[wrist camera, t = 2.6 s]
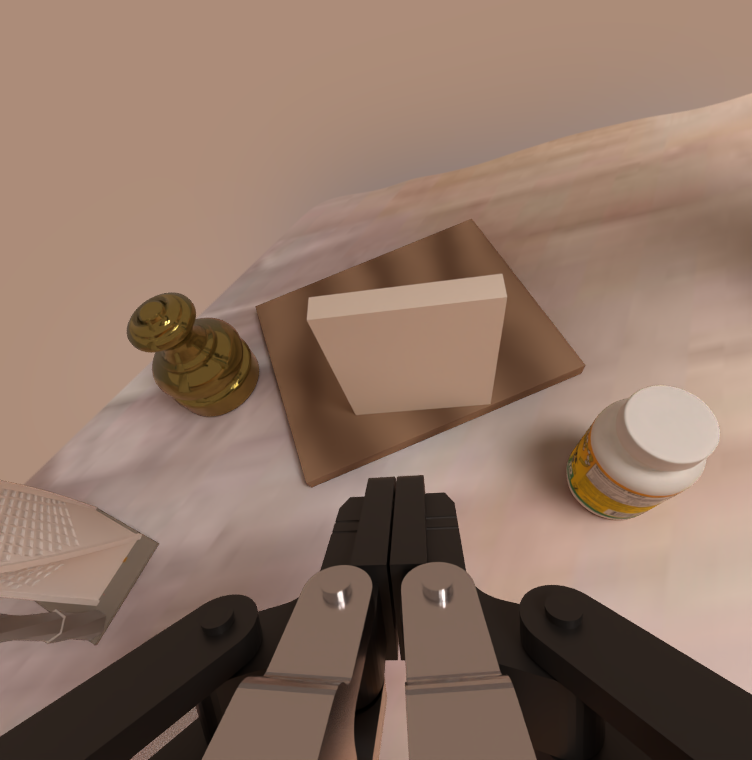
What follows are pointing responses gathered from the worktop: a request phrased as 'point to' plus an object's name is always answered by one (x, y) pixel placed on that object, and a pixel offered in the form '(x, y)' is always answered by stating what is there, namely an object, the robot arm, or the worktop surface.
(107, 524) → the skyscraper
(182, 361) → the brass knob
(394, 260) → the board
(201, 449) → the worktop surface
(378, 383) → the tile
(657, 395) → the supplement bottle
